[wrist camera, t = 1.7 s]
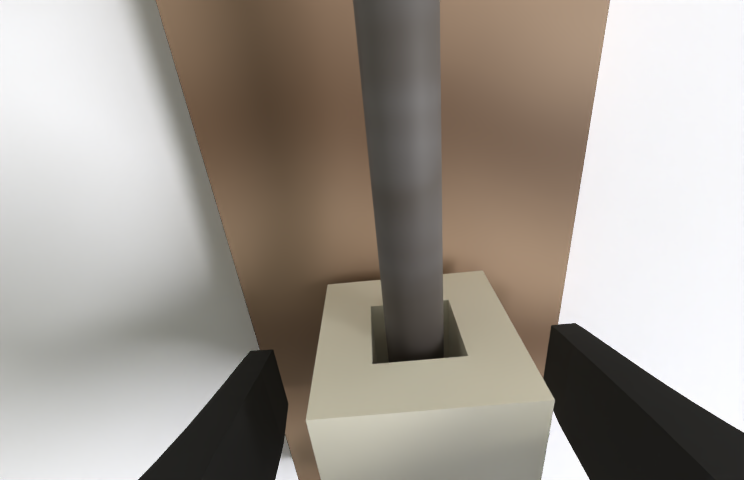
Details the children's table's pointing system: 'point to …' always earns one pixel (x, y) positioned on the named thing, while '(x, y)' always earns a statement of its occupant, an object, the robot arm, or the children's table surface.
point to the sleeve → (426, 393)
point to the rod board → (389, 159)
